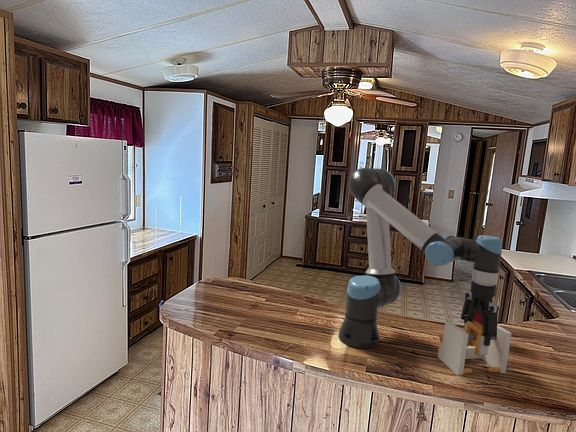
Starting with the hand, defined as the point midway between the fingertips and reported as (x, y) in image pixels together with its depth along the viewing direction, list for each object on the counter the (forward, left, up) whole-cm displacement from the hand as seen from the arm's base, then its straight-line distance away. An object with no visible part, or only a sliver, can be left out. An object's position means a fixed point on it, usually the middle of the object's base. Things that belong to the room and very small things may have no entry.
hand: (474, 347), depth 134 cm
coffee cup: (+12, +26, -7) cm, 29 cm away
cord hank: (0, 0, -1) cm, 1 cm away
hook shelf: (0, 0, -7) cm, 7 cm away
